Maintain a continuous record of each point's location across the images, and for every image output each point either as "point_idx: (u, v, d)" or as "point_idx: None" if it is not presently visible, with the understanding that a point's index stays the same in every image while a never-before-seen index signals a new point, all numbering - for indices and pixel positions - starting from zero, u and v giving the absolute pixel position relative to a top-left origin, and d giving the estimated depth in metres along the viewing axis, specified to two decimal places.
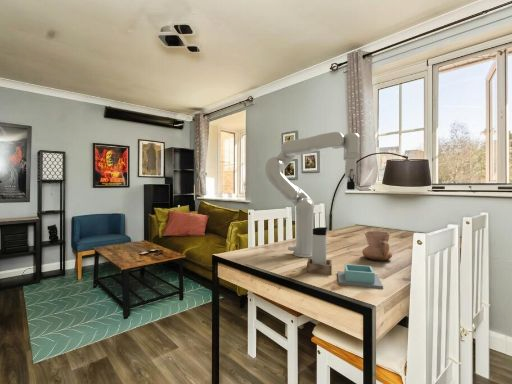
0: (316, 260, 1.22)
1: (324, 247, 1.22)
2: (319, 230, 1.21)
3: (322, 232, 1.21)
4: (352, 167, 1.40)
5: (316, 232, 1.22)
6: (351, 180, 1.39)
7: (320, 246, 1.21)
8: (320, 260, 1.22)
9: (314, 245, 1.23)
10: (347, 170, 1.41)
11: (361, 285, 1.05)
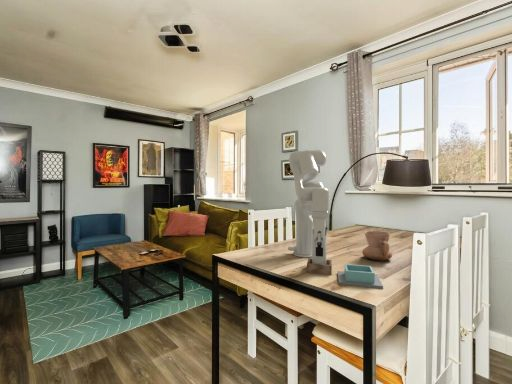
0: (316, 260, 1.22)
1: (324, 247, 1.22)
2: None
3: None
4: (320, 229, 1.19)
5: None
6: (319, 246, 1.20)
7: None
8: (320, 260, 1.22)
9: (314, 245, 1.23)
10: (314, 232, 1.20)
11: (361, 285, 1.05)
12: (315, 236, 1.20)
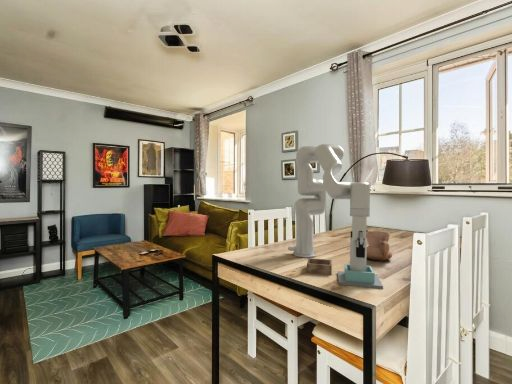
0: (356, 266, 1.10)
1: (365, 252, 1.09)
2: None
3: None
4: (361, 228, 1.06)
5: None
6: (360, 246, 1.05)
7: None
8: (360, 267, 1.09)
9: (353, 250, 1.10)
10: (355, 232, 1.07)
11: (361, 285, 1.05)
12: (356, 236, 1.07)
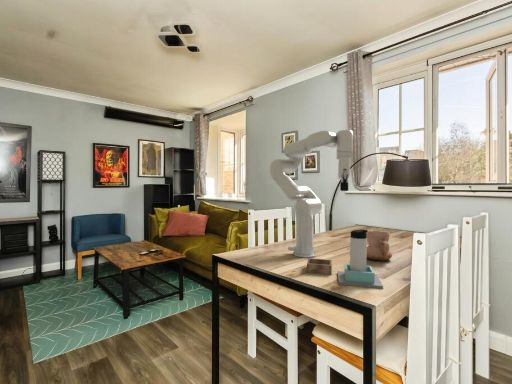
0: (356, 266, 1.10)
1: (365, 252, 1.09)
2: (359, 233, 1.09)
3: (362, 235, 1.09)
4: (345, 167, 1.29)
5: (356, 235, 1.09)
6: (344, 181, 1.28)
7: (361, 251, 1.09)
8: (360, 267, 1.09)
9: (353, 250, 1.10)
10: (340, 170, 1.30)
11: (361, 285, 1.05)
12: (341, 173, 1.30)
